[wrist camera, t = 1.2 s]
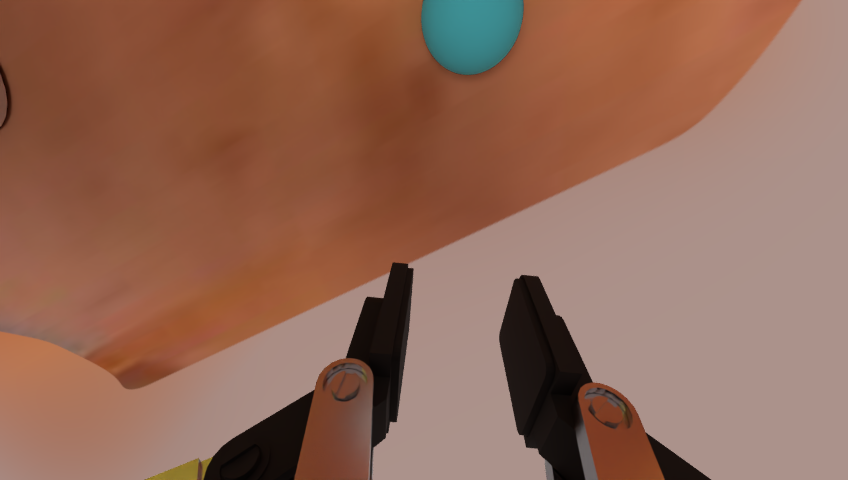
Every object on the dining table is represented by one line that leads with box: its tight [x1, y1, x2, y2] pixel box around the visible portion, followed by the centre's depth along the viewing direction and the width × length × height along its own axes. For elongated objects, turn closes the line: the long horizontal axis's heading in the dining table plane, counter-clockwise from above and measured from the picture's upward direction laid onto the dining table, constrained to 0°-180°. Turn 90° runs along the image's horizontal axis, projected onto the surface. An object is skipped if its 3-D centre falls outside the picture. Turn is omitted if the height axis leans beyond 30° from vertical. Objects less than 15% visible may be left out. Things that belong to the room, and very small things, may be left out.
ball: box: [421, 0, 524, 75], centre depth 19 cm, size 6×6×6 cm
